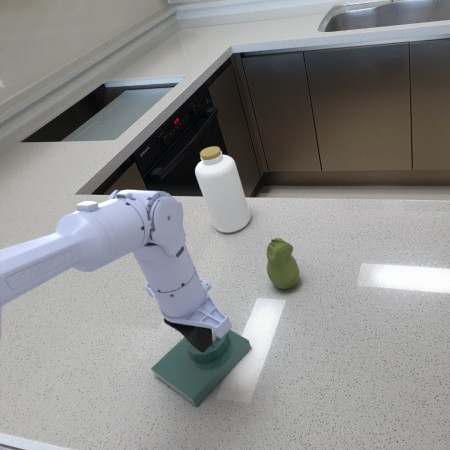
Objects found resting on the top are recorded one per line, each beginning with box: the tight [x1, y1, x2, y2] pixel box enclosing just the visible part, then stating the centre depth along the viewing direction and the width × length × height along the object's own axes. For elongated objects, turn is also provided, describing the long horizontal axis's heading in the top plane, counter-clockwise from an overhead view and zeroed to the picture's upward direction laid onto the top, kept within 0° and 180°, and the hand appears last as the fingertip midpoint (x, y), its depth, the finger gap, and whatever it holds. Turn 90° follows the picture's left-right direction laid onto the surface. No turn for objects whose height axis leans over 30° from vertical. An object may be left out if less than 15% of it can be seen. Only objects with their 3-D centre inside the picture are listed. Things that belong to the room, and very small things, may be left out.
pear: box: [266, 237, 301, 290], centre depth 80 cm, size 6×5×10 cm
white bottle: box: [194, 145, 251, 234], centre depth 96 cm, size 8×8×18 cm
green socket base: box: [150, 329, 252, 407], centre depth 71 cm, size 12×10×4 cm
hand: (204, 346), depth 64 cm, fingers closed
